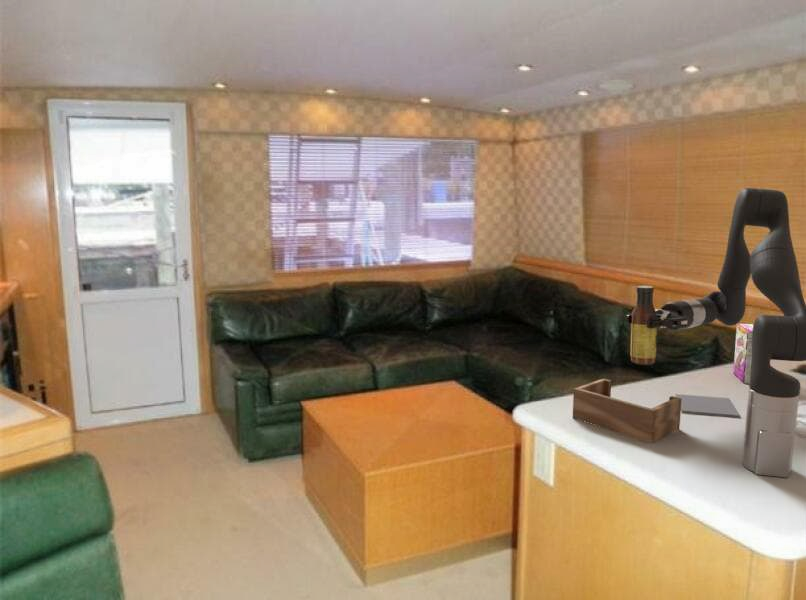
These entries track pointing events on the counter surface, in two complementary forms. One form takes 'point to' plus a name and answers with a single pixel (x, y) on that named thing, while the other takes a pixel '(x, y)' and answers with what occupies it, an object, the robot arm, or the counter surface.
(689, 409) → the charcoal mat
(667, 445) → the counter surface
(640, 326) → the sauce bottle
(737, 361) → the candy bar box
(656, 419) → the walnut crate
